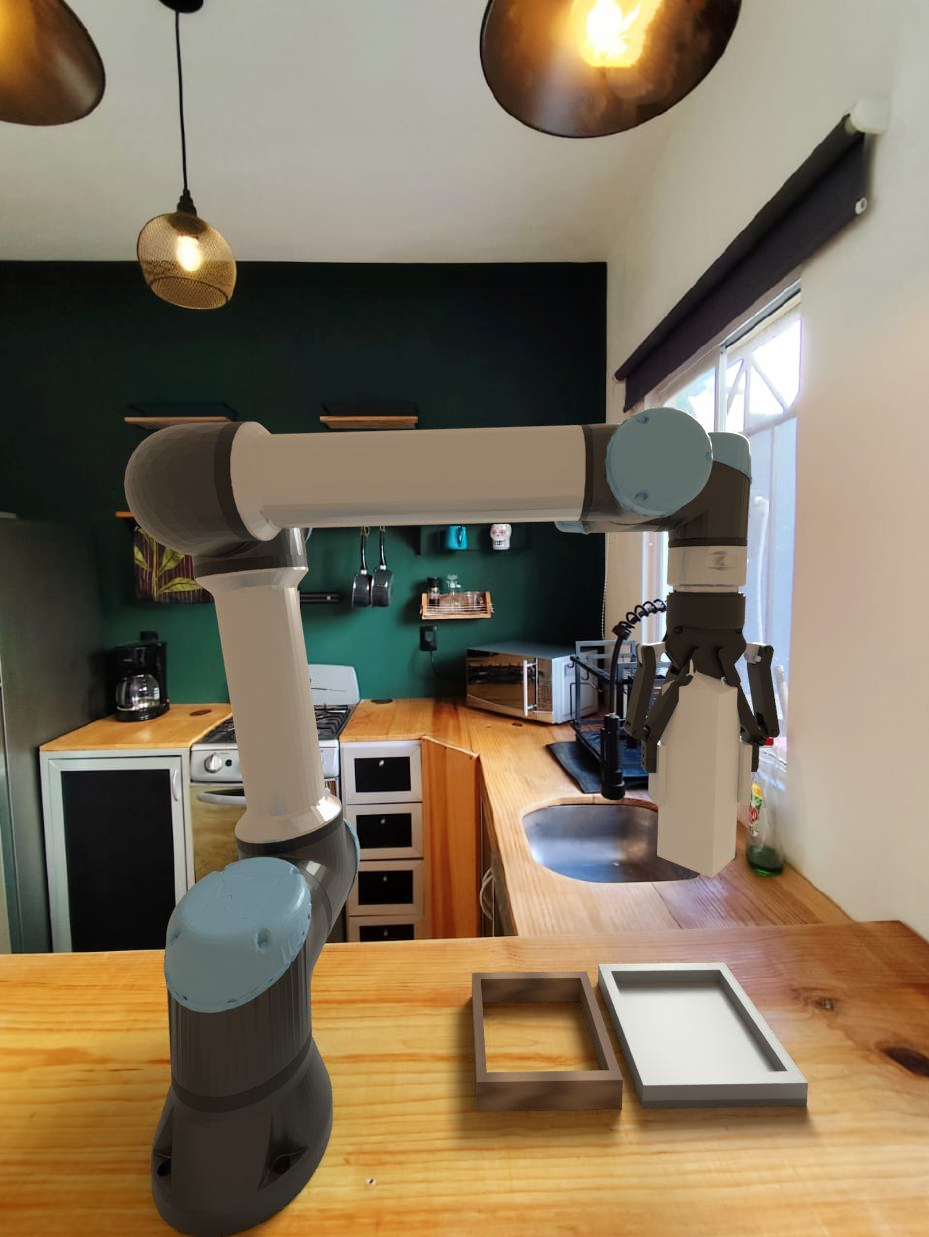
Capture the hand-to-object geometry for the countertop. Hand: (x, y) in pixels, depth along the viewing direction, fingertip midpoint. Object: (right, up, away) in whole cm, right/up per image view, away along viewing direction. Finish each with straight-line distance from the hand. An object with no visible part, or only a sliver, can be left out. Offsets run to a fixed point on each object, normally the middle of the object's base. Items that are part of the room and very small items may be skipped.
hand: (697, 800), depth 57 cm
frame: (-17, -27, +1) cm, 32 cm away
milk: (0, -6, +1) cm, 7 cm away
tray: (0, -27, +2) cm, 27 cm away
